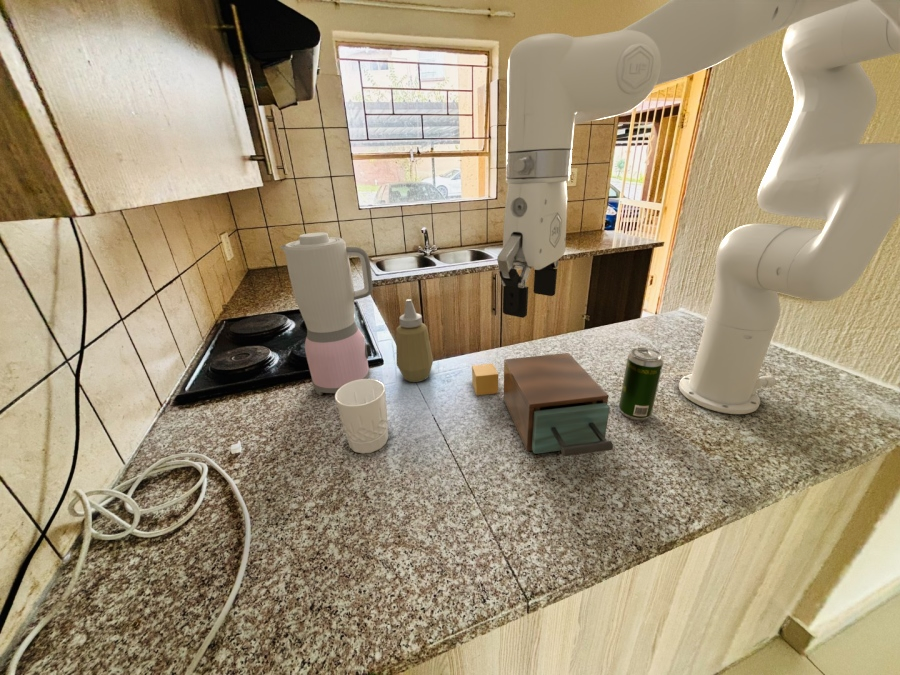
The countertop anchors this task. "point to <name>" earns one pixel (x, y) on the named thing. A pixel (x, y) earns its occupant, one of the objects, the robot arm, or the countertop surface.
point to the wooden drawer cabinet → (545, 388)
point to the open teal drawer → (571, 428)
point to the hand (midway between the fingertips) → (530, 304)
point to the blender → (329, 308)
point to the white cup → (363, 414)
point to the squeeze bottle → (413, 346)
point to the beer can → (640, 383)
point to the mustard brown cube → (484, 379)
